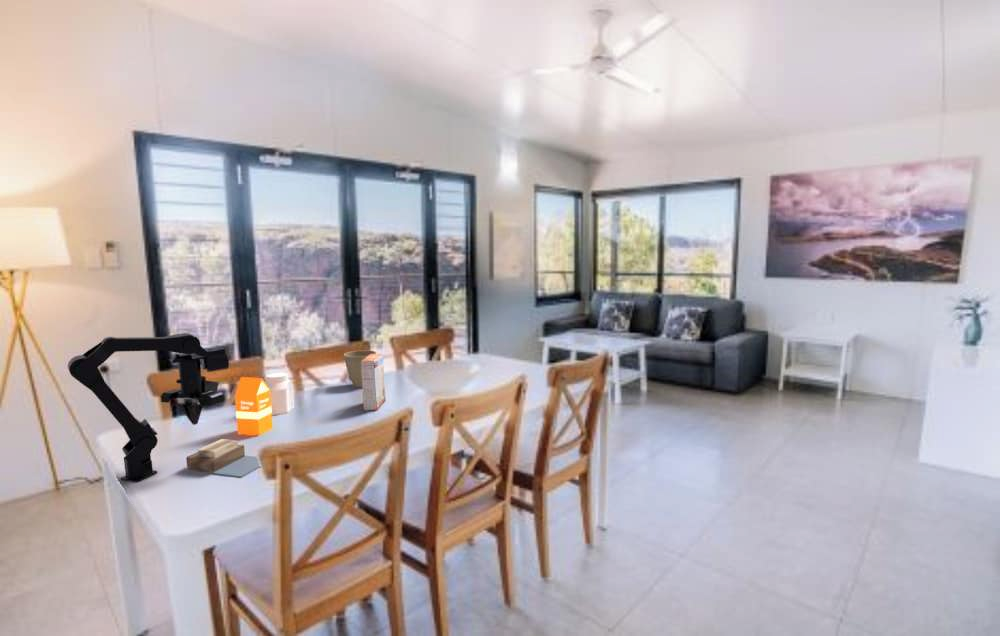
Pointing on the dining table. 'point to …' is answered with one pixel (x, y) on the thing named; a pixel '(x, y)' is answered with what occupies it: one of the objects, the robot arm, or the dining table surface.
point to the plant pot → (356, 365)
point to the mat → (240, 467)
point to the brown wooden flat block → (214, 460)
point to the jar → (280, 393)
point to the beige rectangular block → (217, 448)
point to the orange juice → (253, 406)
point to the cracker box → (373, 381)
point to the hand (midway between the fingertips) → (195, 424)
